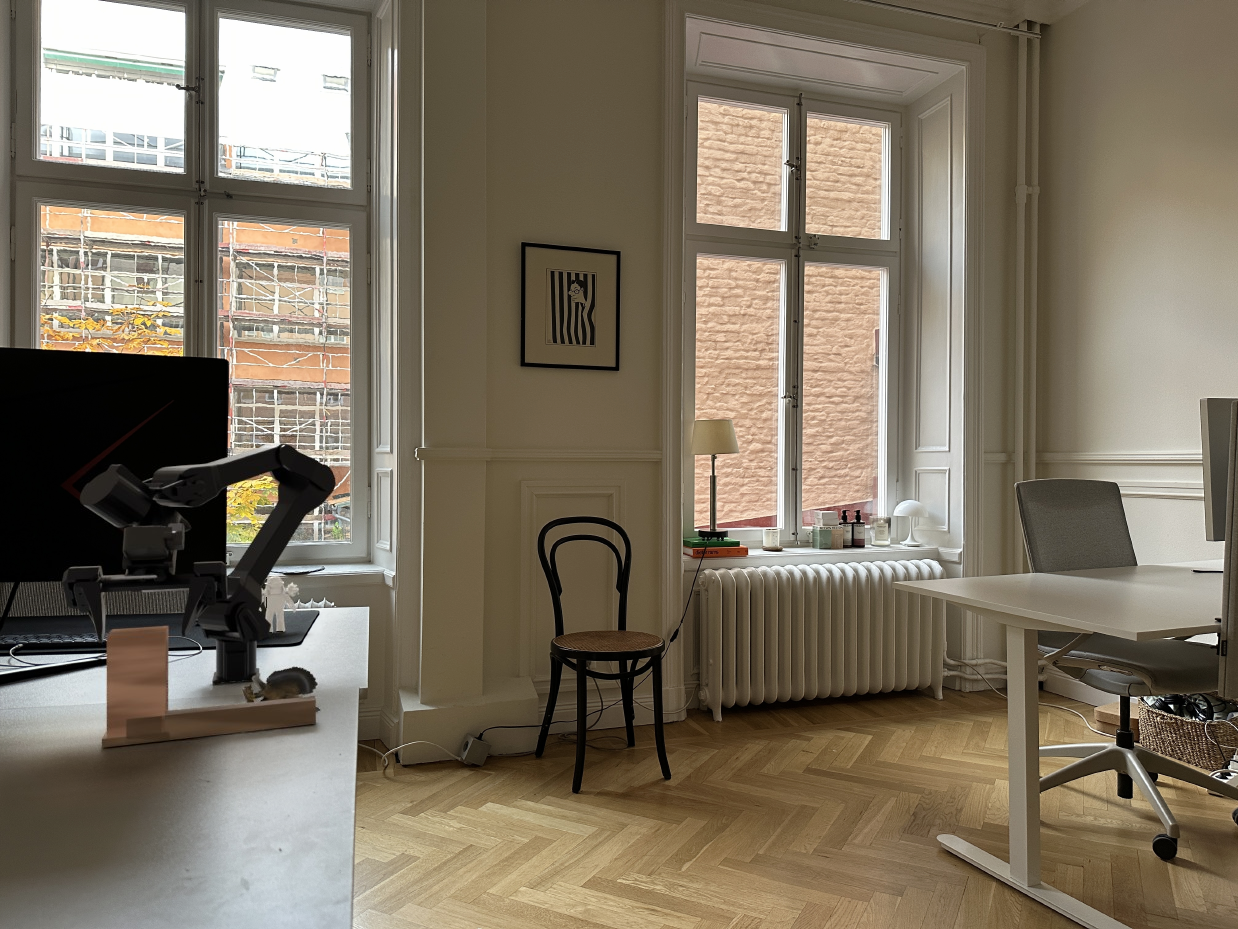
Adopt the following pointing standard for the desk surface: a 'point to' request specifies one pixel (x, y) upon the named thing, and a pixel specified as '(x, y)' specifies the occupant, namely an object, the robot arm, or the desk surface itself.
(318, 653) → the desk surface
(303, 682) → the brown squirrel figurine
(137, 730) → the wooden l-shaped stand
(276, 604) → the blocky character figurine
